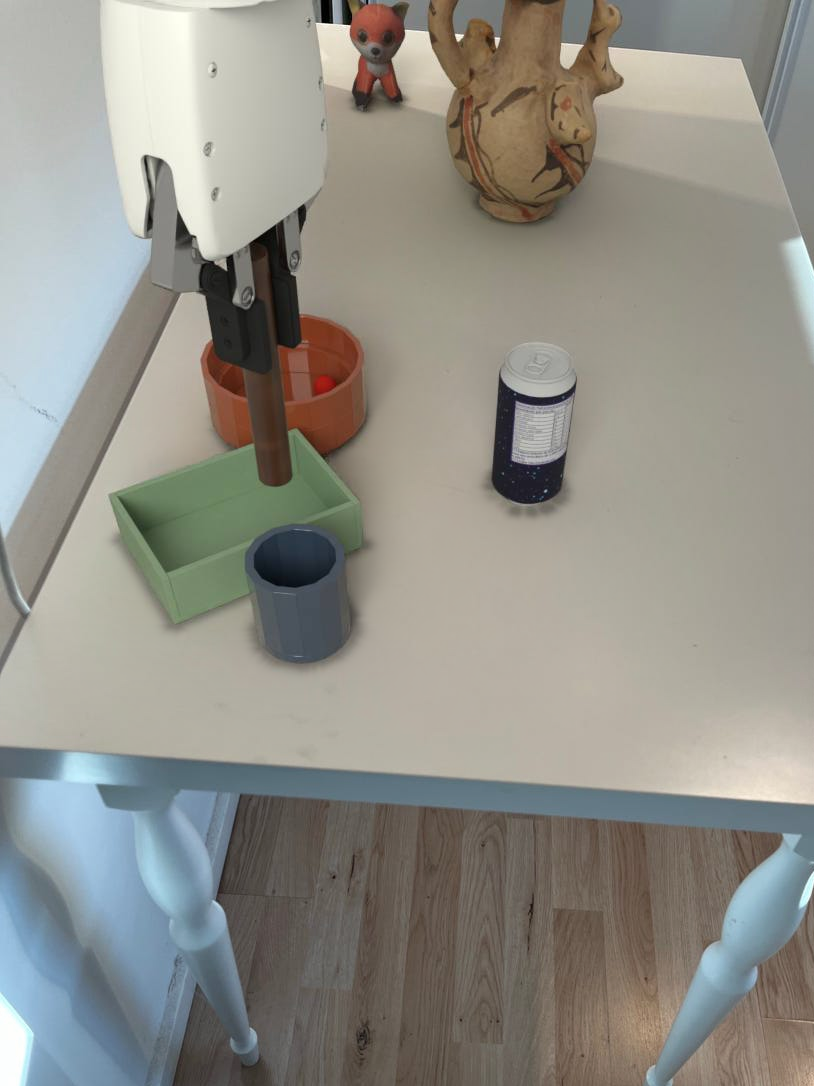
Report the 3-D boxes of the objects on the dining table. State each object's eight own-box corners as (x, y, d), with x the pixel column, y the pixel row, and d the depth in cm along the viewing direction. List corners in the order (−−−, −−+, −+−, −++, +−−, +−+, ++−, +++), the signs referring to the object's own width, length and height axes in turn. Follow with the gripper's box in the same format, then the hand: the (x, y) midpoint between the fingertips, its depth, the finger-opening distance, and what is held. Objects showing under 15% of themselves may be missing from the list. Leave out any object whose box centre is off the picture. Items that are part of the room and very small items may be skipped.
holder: (284, 678, 65) (272, 608, 60) (242, 616, 69) (227, 545, 63) (367, 640, 68) (363, 569, 63) (323, 582, 71) (315, 510, 66)
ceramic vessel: (575, 260, 103) (610, -14, 84) (404, 228, 106) (401, -45, 87) (609, 186, 114) (646, -69, 95) (454, 159, 117) (461, -95, 98)
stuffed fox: (411, 81, 132) (410, -22, 123) (409, 116, 125) (409, 9, 115) (355, 79, 131) (350, -24, 122) (350, 114, 124) (344, 7, 115)
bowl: (254, 486, 78) (243, 424, 73) (188, 400, 84) (175, 339, 80) (394, 434, 83) (393, 373, 78) (322, 357, 89) (316, 297, 85)
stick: (267, 491, 57) (236, 265, 46) (252, 472, 58) (218, 247, 47) (298, 480, 58) (274, 255, 47) (283, 461, 59) (256, 237, 48)
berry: (321, 406, 83) (319, 386, 82) (310, 394, 84) (308, 374, 83) (342, 399, 84) (340, 379, 83) (330, 387, 85) (329, 368, 84)
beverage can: (571, 479, 80) (590, 351, 71) (544, 521, 77) (561, 393, 67) (508, 458, 81) (519, 330, 72) (479, 498, 78) (487, 370, 69)
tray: (175, 624, 68) (161, 580, 65) (122, 539, 73) (107, 494, 70) (363, 546, 74) (360, 501, 70) (302, 472, 79) (296, 427, 76)
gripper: (244, -125, 43) (283, 267, 57) (-27, -36, 33) (100, 408, 47) (392, -94, 41) (395, 303, 55) (151, 10, 32) (229, 458, 46)
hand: (259, 349), depth 51 cm, fingers closed on stick, 2 cm apart
